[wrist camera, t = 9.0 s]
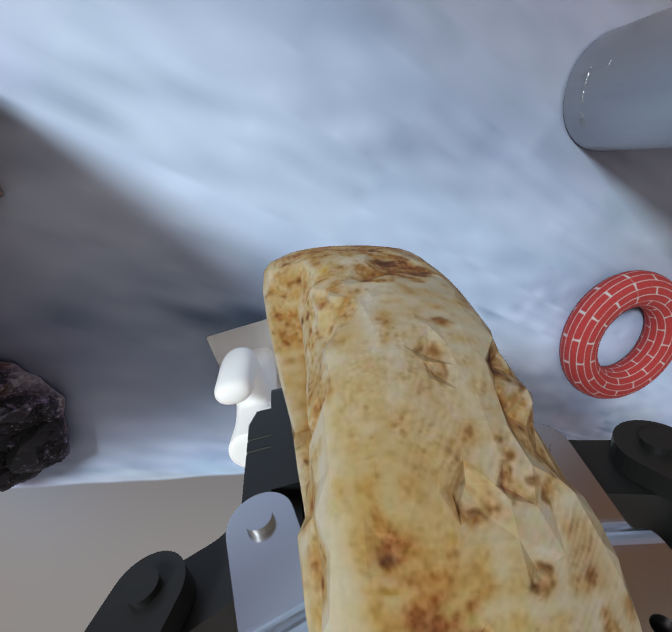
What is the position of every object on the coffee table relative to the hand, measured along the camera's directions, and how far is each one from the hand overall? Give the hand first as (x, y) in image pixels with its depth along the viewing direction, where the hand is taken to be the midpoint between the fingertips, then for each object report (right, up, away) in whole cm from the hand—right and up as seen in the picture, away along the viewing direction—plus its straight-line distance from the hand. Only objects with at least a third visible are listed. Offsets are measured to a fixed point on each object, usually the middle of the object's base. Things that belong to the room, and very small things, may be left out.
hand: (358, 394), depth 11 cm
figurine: (-8, 0, +25) cm, 26 cm away
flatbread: (0, +1, +2) cm, 2 cm away
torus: (+31, +1, +31) cm, 45 cm away
